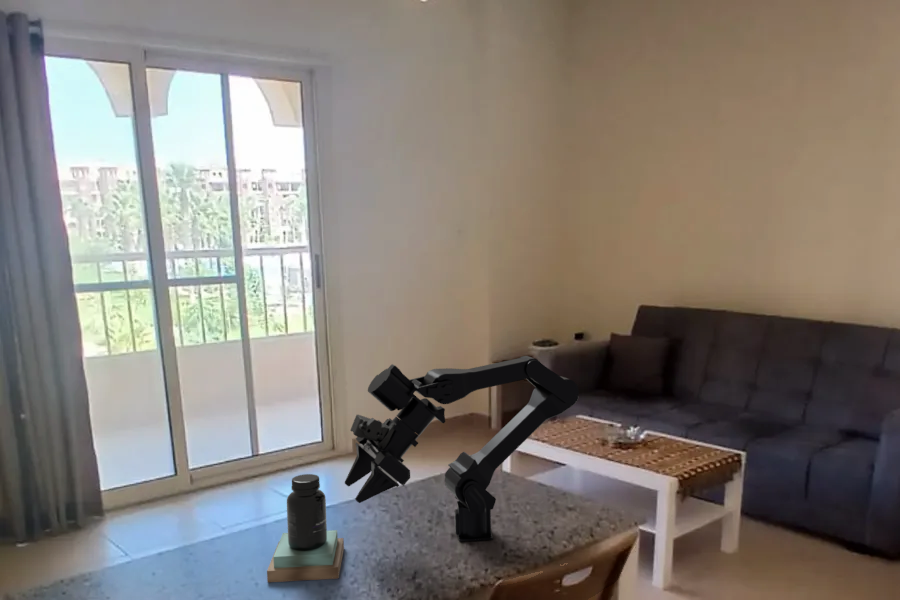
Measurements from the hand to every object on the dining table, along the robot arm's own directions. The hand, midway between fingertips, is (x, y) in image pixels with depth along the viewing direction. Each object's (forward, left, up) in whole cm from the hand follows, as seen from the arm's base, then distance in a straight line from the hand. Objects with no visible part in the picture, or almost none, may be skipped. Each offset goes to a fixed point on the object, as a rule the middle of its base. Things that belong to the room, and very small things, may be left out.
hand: (351, 492), depth 130 cm
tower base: (+8, +2, -12) cm, 15 cm away
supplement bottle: (+8, +3, -8) cm, 12 cm away
